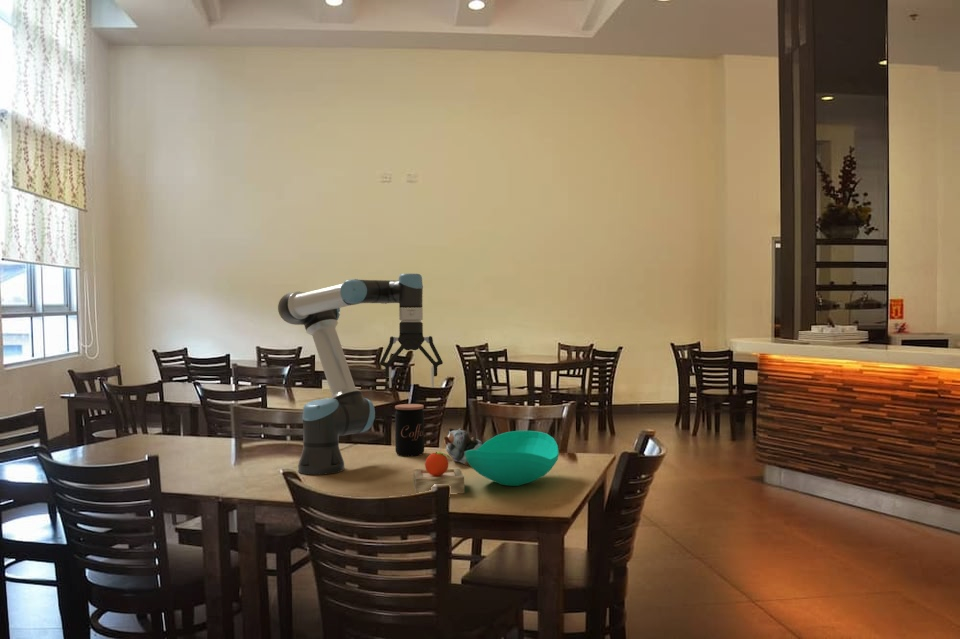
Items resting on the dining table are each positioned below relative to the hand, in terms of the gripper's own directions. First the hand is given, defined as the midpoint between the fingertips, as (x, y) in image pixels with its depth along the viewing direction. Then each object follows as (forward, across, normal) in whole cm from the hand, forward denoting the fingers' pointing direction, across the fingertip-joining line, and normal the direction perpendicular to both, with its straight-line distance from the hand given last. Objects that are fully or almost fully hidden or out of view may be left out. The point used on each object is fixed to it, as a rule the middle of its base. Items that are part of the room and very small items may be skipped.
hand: (411, 387), depth 256 cm
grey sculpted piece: (+29, +19, +17) cm, 39 cm away
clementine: (+25, +7, -22) cm, 34 cm away
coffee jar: (+29, 0, +37) cm, 47 cm away
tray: (+28, +7, -22) cm, 37 cm away
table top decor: (+28, +30, -18) cm, 45 cm away
